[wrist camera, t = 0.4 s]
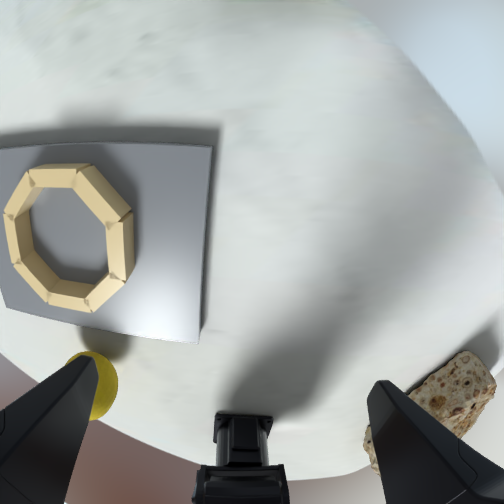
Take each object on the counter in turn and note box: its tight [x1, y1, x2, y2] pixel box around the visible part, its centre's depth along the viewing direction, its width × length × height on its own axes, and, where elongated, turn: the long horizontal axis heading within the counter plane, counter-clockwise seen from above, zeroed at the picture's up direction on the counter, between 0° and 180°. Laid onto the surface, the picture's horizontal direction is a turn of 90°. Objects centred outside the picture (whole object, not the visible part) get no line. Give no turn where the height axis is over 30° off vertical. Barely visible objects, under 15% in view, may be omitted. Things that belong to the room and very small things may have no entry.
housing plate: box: [0, 142, 213, 344], centre depth 19 cm, size 15×20×4 cm
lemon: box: [65, 351, 118, 420], centre depth 22 cm, size 6×6×8 cm
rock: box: [363, 351, 497, 477], centre depth 30 cm, size 21×14×10 cm
